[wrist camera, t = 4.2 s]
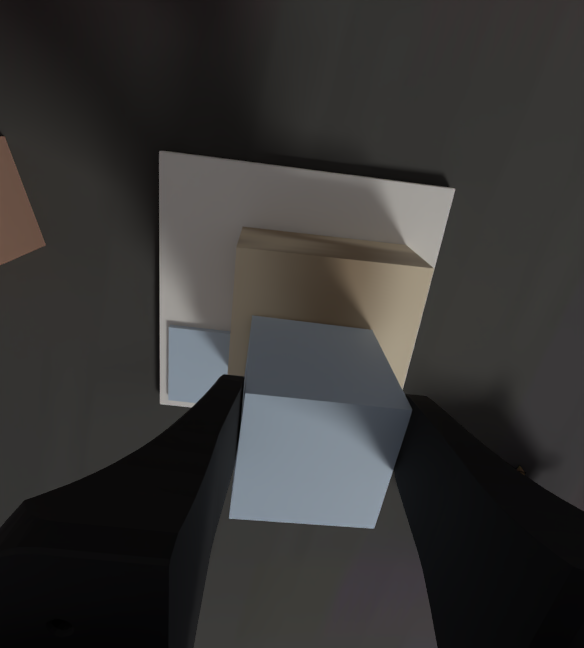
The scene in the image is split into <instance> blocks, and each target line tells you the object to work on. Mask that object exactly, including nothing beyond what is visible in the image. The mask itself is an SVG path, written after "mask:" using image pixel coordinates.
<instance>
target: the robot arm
mask: <svg viewBox="0 0 584 648" xmlns="http://www.w3.org/2000/svg"><path fill="white" fill-rule="evenodd" d="M244 379H245V376H236V375H227V374H223V375H222V376H220V377H219V378H218V380H217V381H216V382H215V383H214V385H213V386H212V387H211V388H210V389H209V390H208V391H207V392H206V393H205V395H204V396H203V397H202V398H201V399H200V400H199V401H198V402H197V403H196V404H195V405H194V406H193V407H192V408H191V409H190V410H189V411H187V412H186V413H185V414H184V415H183V416H182V417H181V418H179V419H178V420H177V421H176V422H175V423H174V424H173V425H171V426H170V427H169V428H168V429H166V430H165V431H164V432H163V433H161V434H160V435H159V436H157V437H156V438H154V439H153V440H152V441H150V442H149V443H147V444H146V445H144V446H143V447H141V448H140V449H138V450H136V451H135V452H133V453H131V454H129V455H128V456H126V457H124V458H122V459H121V460H119V461H117V462H116V463H114V464H112V465H110V466H108V467H106V468H104V469H102V470H100V471H98V472H96V473H93V474H91V475H89V476H87V477H84V478H82V479H80V480H78V481H75V482H73V483H71V484H68V485H65V486H63V487H60V488H57V489H55V490H52V491H49V492H47V493H44V494H41V495H39V496H36V497H33V498H30V499H27V500H24V501H23V502H22V504H21V505H20V506H19V507H18V508H17V509H16V510H15V512H14V513H13V514H12V515H11V516H10V517H9V518H8V519H7V520H6V521H5V523H4V524H3V525H2V526H1V528H0V648H193V647H194V641H195V636H196V630H197V624H198V619H199V613H200V608H201V602H202V596H203V591H204V585H205V580H206V575H207V569H208V564H209V558H210V553H211V548H212V544H213V540H214V536H215V532H216V528H217V525H218V521H219V518H220V514H221V511H222V507H223V504H224V500H225V497H226V493H227V490H228V486H229V483H230V479H231V476H232V472H233V469H234V465H235V459H236V453H237V447H238V441H239V432H240V424H241V413H242V402H243V390H244ZM406 398H407V400H408V402H409V404H410V406H411V408H412V413H411V416H410V420H409V423H408V426H407V429H406V432H405V435H404V438H403V441H402V445H401V448H400V451H399V454H398V457H397V460H396V463H395V466H394V472H395V478H396V482H397V486H398V489H399V493H400V496H401V499H402V502H403V506H404V509H405V512H406V515H407V519H408V522H409V525H410V528H411V531H412V534H413V538H414V541H415V544H416V547H417V550H418V554H419V558H420V561H421V565H422V569H423V573H424V578H425V583H426V588H427V593H428V598H429V603H430V608H431V613H432V619H433V624H434V630H435V635H436V641H437V646H438V648H584V511H582V510H580V509H578V508H577V507H575V506H573V505H571V504H570V503H568V502H566V501H564V500H563V499H561V498H559V497H557V496H556V495H554V494H553V493H551V492H549V491H548V490H546V489H544V488H543V487H541V486H540V485H538V484H537V483H535V482H534V481H532V480H531V479H529V478H528V477H526V476H525V475H523V474H522V473H520V472H519V471H517V470H516V469H515V468H513V467H512V466H511V465H509V464H508V463H506V462H505V461H504V460H503V459H501V458H500V457H499V456H497V455H496V454H495V453H493V452H492V451H491V450H490V449H488V448H487V447H486V446H485V445H483V444H482V443H481V442H480V441H479V440H477V439H476V438H475V437H474V436H473V435H471V434H470V433H469V432H468V431H467V430H466V429H464V428H463V427H462V426H461V425H460V424H459V423H458V422H456V421H455V420H454V419H453V418H452V417H451V416H450V415H448V414H447V413H446V412H445V411H444V410H443V409H442V408H440V407H439V406H438V405H437V404H436V403H435V402H433V401H432V400H431V399H429V398H428V397H427V396H419V395H409V394H406Z"/></svg>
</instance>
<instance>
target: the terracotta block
mask: <svg viewBox="0 0 584 648" xmlns="http://www.w3.org/2000/svg"><path fill="white" fill-rule="evenodd" d="M45 245H46V244H45V242H44V239H43V236H42V234H41V231H40V229H39V226H38V223H37V221H36V218H35V215H34V213H33V210H32V207H31V205H30V202H29V200H28V197H27V194H26V192H25V189H24V186H23V184H22V181H21V178H20V176H19V173H18V171H17V168H16V165H15V163H14V160H13V157H12V155H11V152H10V149H9V147H8V144H7V142H6V139H5V136H0V265H2V264H4V263H6V262H9V261H11V260H13V259H15V258H18V257H20V256H22V255H25V254H27V253H29V252H31V251H34V250H36V249H38V248H40V247H43V246H45Z"/></svg>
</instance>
